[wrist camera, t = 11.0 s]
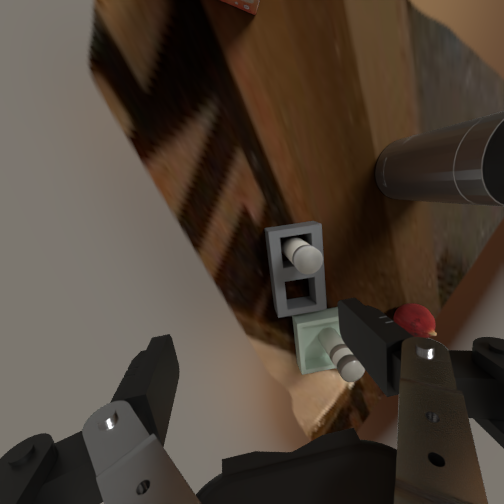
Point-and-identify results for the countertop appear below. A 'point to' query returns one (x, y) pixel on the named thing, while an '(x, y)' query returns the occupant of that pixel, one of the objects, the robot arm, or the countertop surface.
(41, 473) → the robot arm
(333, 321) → the parts tray
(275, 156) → the countertop surface
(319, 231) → the block
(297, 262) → the ball
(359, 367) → the cylinder
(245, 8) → the cracker box
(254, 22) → the countertop surface
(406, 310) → the onion
